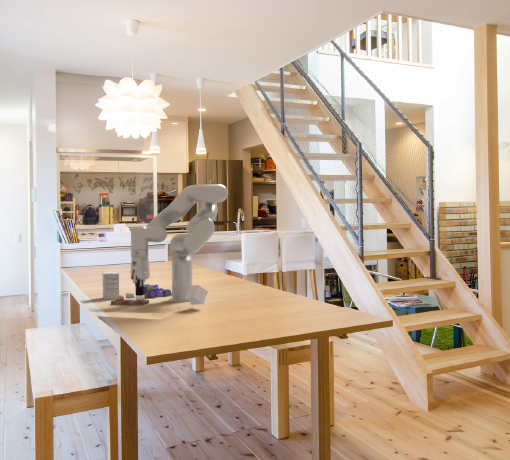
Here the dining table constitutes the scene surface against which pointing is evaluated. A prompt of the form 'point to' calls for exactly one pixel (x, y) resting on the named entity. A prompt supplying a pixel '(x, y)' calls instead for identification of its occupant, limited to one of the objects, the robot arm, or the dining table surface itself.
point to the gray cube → (196, 294)
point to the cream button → (140, 297)
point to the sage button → (129, 295)
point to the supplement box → (110, 285)
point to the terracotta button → (119, 297)
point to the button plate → (129, 302)
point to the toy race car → (155, 291)
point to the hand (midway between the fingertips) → (139, 295)
